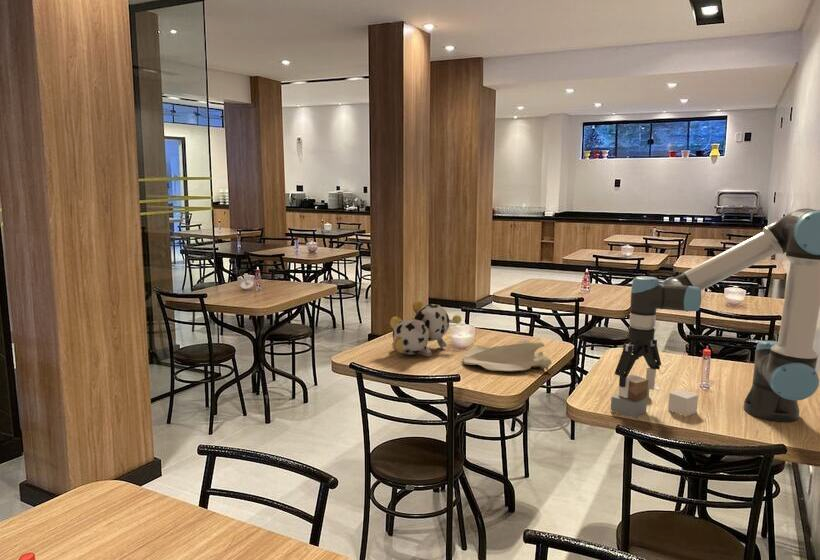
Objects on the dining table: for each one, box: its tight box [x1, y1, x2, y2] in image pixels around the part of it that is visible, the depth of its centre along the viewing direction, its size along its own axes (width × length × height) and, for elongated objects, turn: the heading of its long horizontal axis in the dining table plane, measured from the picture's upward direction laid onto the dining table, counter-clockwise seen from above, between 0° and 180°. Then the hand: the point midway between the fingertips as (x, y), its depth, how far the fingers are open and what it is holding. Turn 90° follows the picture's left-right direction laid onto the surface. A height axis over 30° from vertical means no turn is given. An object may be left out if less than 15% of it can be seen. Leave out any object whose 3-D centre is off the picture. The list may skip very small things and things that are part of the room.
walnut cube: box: [620, 374, 648, 402], centre depth 190 cm, size 6×6×6 cm
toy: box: [389, 299, 462, 358], centre depth 253 cm, size 21×33×20 cm
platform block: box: [610, 392, 648, 419], centre depth 191 cm, size 8×8×5 cm
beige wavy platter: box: [462, 339, 552, 372], centre depth 236 cm, size 36×21×11 cm, turn 56°
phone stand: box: [653, 385, 661, 391], centre depth 215 cm, size 20×12×2 cm, turn 157°
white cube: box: [667, 388, 699, 417], centre depth 191 cm, size 6×6×6 cm
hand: (636, 392), depth 190 cm, fingers open, 13 cm apart
